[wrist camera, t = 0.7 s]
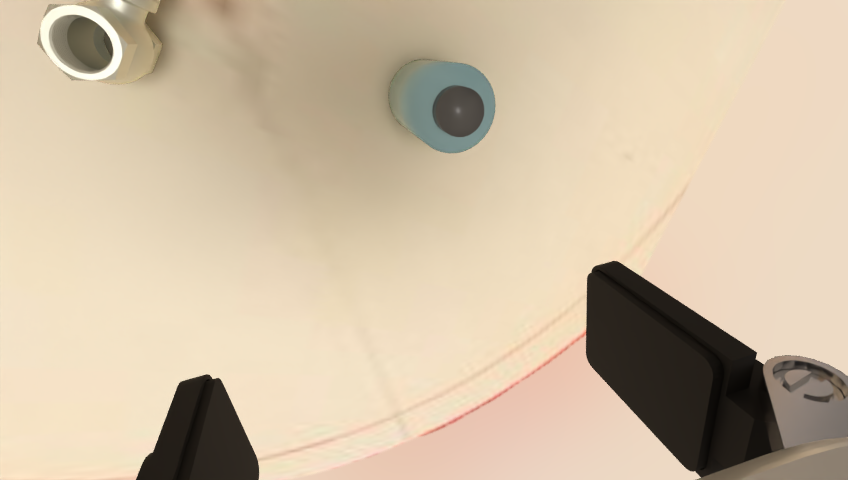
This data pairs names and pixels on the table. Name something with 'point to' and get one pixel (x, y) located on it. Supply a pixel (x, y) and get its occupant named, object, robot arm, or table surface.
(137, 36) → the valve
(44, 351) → the table surface
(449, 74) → the teal cylinder with cap
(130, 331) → the table surface
